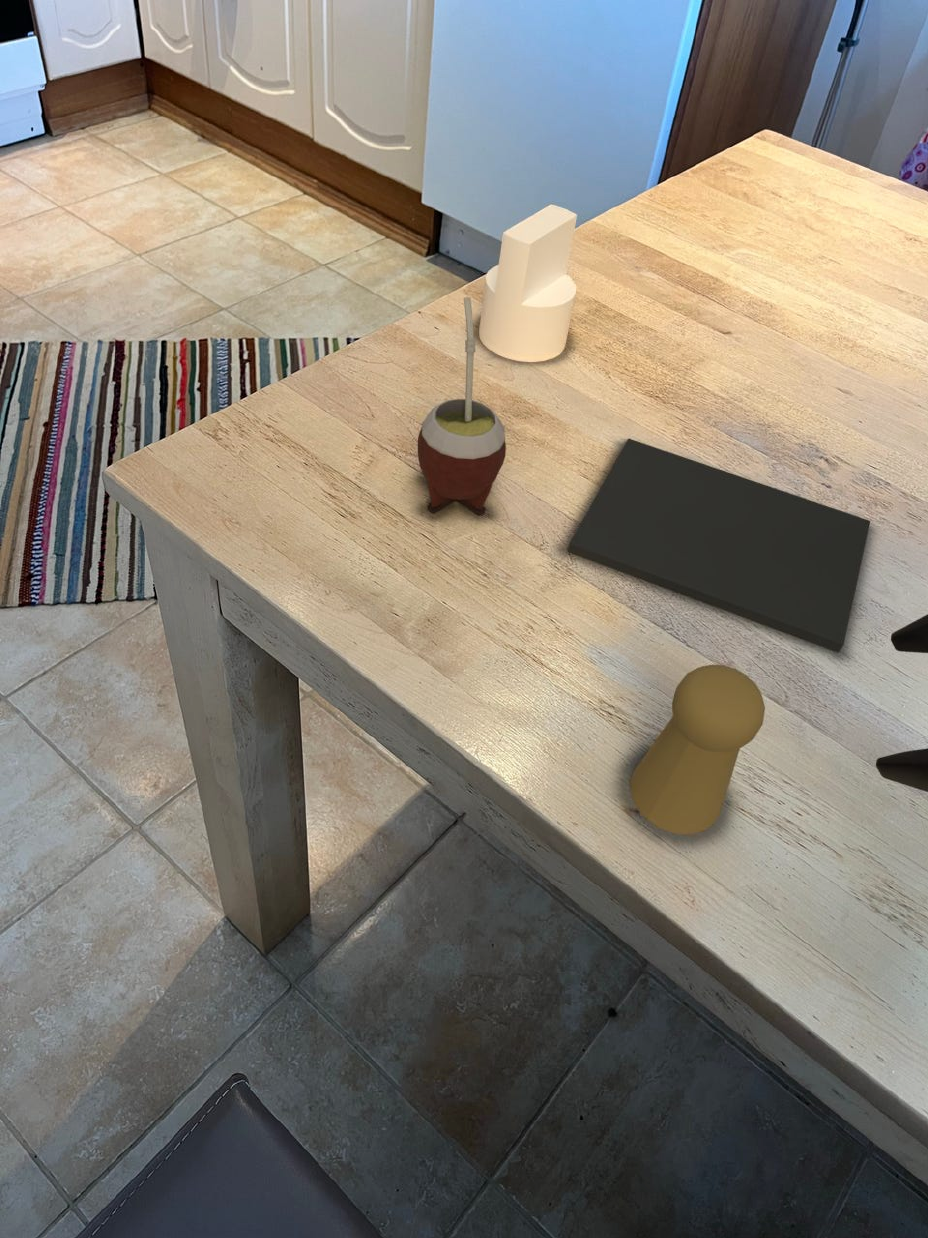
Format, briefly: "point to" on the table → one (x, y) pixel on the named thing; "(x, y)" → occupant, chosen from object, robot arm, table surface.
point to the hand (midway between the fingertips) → (886, 701)
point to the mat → (727, 542)
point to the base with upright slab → (531, 289)
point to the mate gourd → (461, 444)
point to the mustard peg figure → (697, 749)
